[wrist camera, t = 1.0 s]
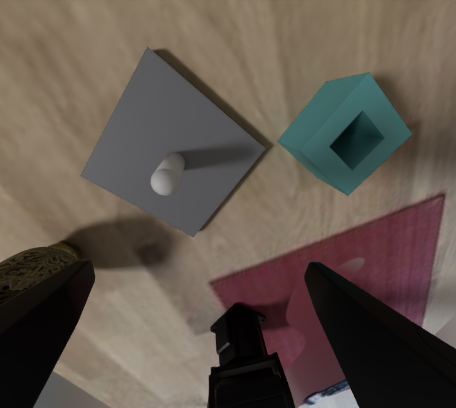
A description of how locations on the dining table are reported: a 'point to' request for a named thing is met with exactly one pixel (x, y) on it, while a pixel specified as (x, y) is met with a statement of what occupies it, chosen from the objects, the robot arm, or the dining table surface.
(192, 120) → the post stand
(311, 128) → the teal block with hole
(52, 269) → the cup
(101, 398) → the dining table surface
